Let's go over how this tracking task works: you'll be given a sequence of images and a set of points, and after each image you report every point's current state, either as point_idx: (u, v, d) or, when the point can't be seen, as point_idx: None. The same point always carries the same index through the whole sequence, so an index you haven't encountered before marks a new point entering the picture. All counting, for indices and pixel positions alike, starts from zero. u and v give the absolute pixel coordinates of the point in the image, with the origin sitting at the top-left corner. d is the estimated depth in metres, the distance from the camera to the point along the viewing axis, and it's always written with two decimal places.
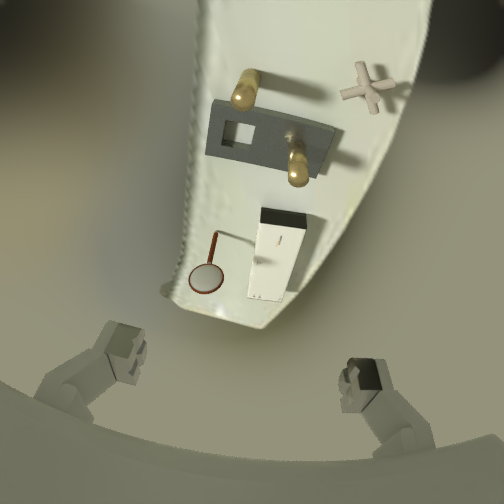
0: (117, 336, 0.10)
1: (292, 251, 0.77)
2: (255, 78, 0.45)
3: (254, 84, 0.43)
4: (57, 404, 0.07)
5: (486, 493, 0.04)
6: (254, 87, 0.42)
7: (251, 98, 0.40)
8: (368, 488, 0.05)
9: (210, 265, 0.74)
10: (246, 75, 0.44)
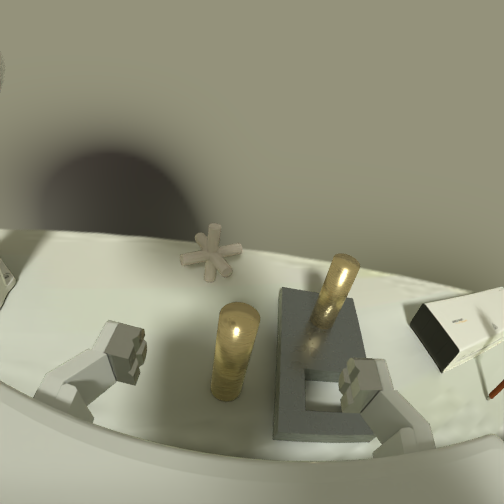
0: (117, 336, 0.10)
1: (455, 303, 0.45)
2: None
3: None
4: (57, 404, 0.07)
5: (486, 493, 0.04)
6: None
7: (234, 306, 0.27)
8: (368, 488, 0.05)
9: None
10: (213, 369, 0.30)
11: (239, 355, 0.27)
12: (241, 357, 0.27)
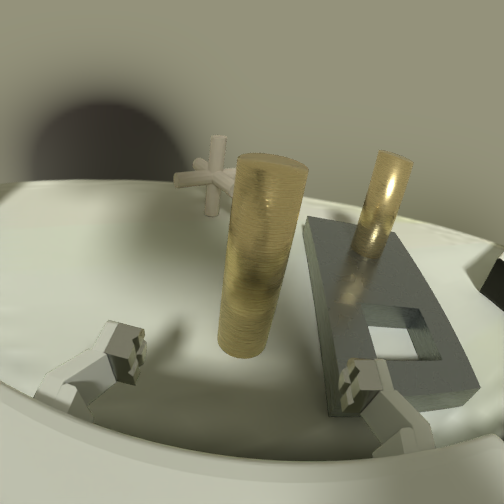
0: (117, 336, 0.10)
1: None
2: None
3: None
4: (57, 404, 0.07)
5: (486, 493, 0.04)
6: None
7: (261, 155, 0.16)
8: (368, 488, 0.05)
9: None
10: (223, 292, 0.19)
11: (274, 241, 0.15)
12: (277, 246, 0.15)
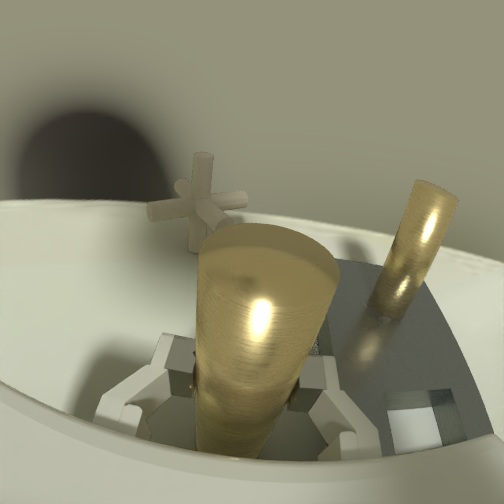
0: (176, 349, 0.10)
1: None
2: None
3: None
4: (121, 427, 0.07)
5: (486, 493, 0.04)
6: None
7: (248, 231, 0.09)
8: (368, 488, 0.05)
9: None
10: (196, 416, 0.11)
11: (269, 392, 0.08)
12: (275, 395, 0.08)
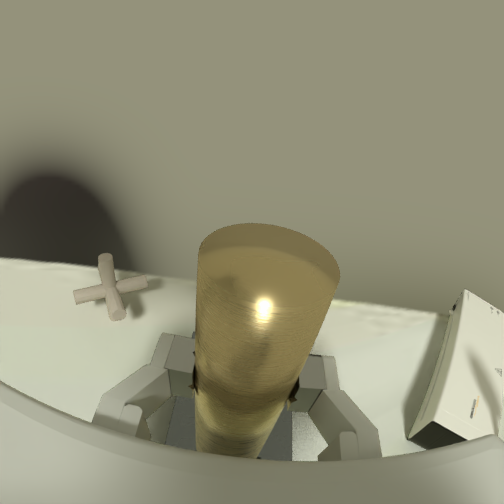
0: (176, 349, 0.10)
1: (457, 378, 0.29)
2: None
3: None
4: (122, 428, 0.07)
5: (486, 493, 0.04)
6: None
7: (248, 231, 0.09)
8: (368, 488, 0.05)
9: None
10: (196, 416, 0.11)
11: (269, 392, 0.08)
12: (274, 396, 0.08)
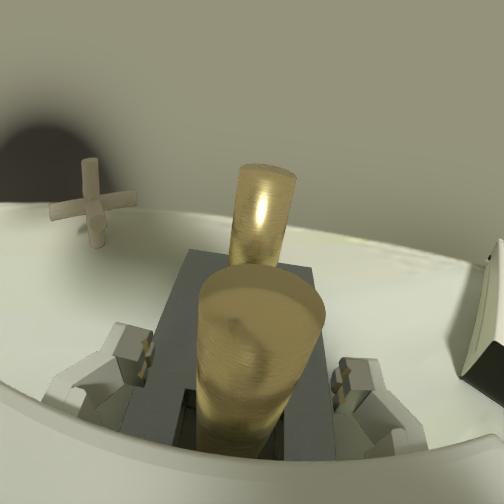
0: (126, 338, 0.10)
1: None
2: None
3: None
4: (66, 407, 0.07)
5: (486, 493, 0.04)
6: None
7: (244, 273, 0.09)
8: (368, 488, 0.05)
9: None
10: (197, 429, 0.12)
11: (262, 413, 0.09)
12: (267, 416, 0.09)
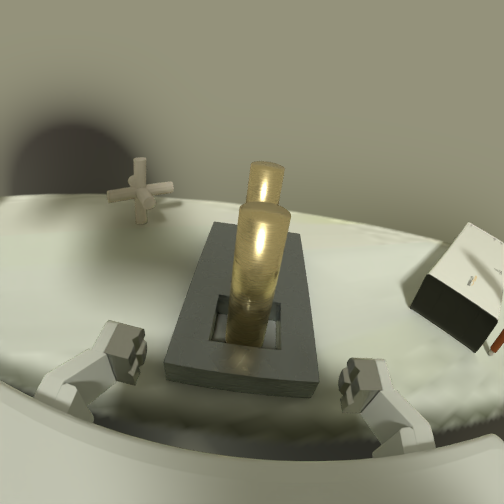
0: (117, 336, 0.10)
1: (453, 259, 0.35)
2: None
3: None
4: (57, 404, 0.07)
5: (486, 493, 0.04)
6: None
7: (256, 204, 0.22)
8: (368, 488, 0.05)
9: None
10: (229, 303, 0.25)
11: (266, 268, 0.21)
12: (268, 271, 0.22)
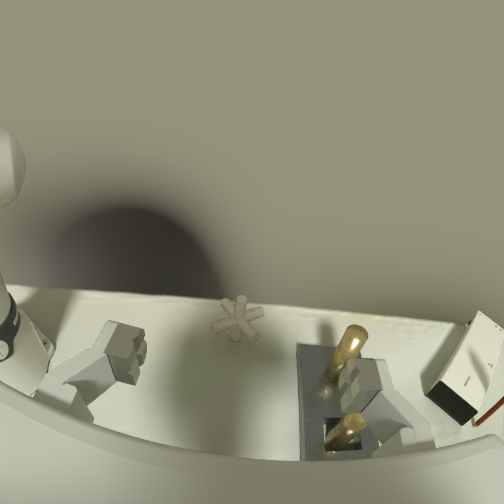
0: (117, 336, 0.10)
1: (459, 362, 0.47)
2: None
3: None
4: (57, 404, 0.07)
5: (486, 493, 0.04)
6: None
7: None
8: (368, 488, 0.05)
9: None
10: (338, 431, 0.36)
11: None
12: None
